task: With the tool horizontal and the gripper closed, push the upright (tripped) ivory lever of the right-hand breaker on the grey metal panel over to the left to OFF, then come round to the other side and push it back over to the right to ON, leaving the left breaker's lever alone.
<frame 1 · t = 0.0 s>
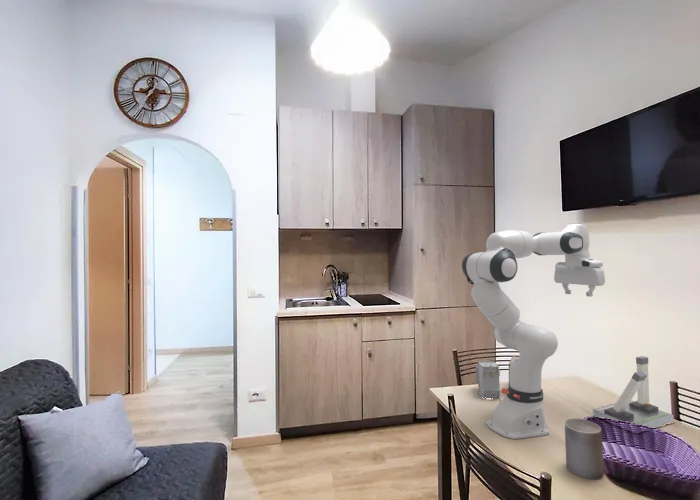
hand: (578, 295, 153), 48 cm above the table, tool pointing down, fingers open, 8 cm apart
circuit breaker: (487, 394, 172), on the table
tea box: (521, 392, 173), on the table
panel: (632, 419, 143), on the table
tripped lever: (642, 380, 146), point 14 cm above the table, hinge at 0.0°
left lever: (629, 392, 136), point 13 cm above the table, hinge at 27.0°
pillar candle: (584, 470, 111), on the table
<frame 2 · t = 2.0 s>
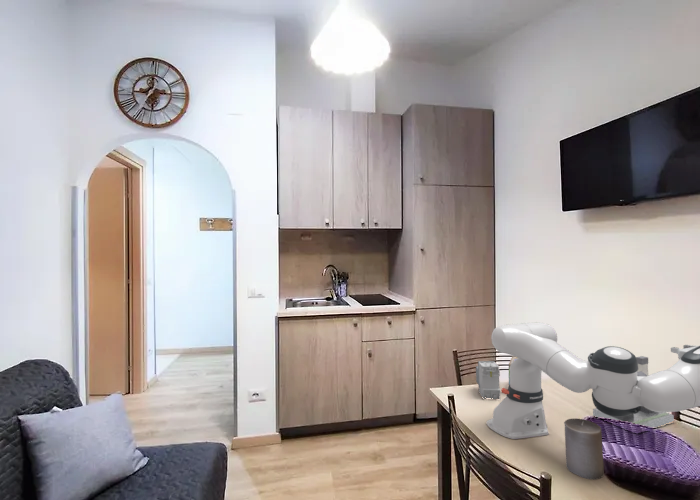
hand: (678, 348, 134), 30 cm above the table, tool horizontal, fingers open, 6 cm apart
nothing on the table moved.
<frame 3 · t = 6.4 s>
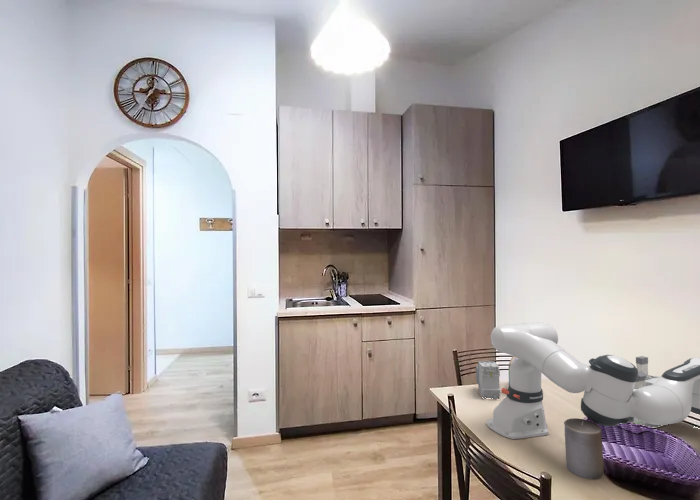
hand: (646, 377, 145), 16 cm above the table, tool horizontal, fingers closed, pressing on tripped lever
tripped lever: (642, 380, 146), point 14 cm above the table, hinge at -0.3°, touching gripper
pillar candle: (584, 470, 111), on the table, touching arm
everything else where it was.
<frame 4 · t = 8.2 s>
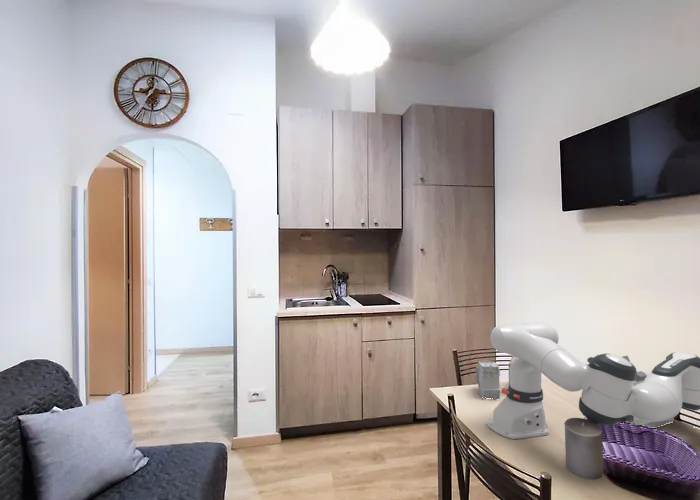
hand: (633, 373, 149), 16 cm above the table, tool horizontal, fingers closed, pressing on tripped lever
tripped lever: (632, 379, 149), point 14 cm above the table, hinge at -24.9°, touching gripper
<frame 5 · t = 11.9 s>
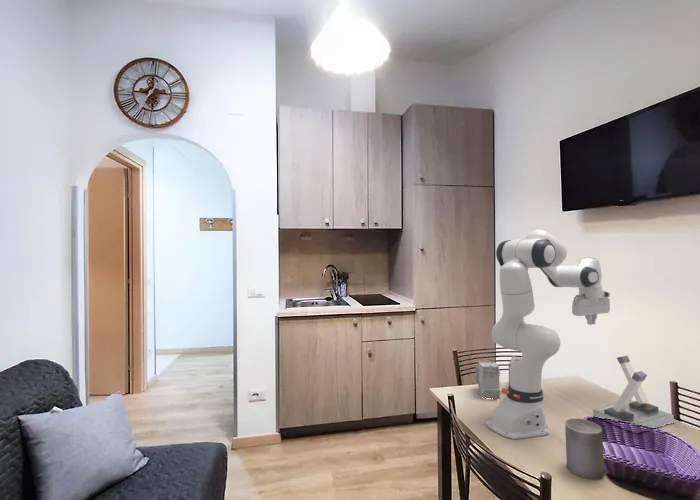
hand: (591, 324, 165), 33 cm above the table, tool pointing down, fingers closed
tripped lever: (632, 379, 149), point 14 cm above the table, hinge at -24.9°
pillar candle: (584, 470, 111), on the table
everything else where it was.
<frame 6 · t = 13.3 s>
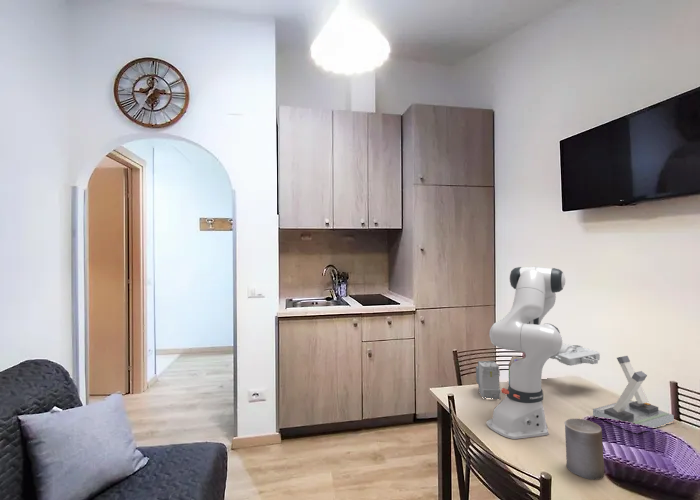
hand: (595, 362, 163), 16 cm above the table, tool horizontal, fingers closed
nothing on the table moved.
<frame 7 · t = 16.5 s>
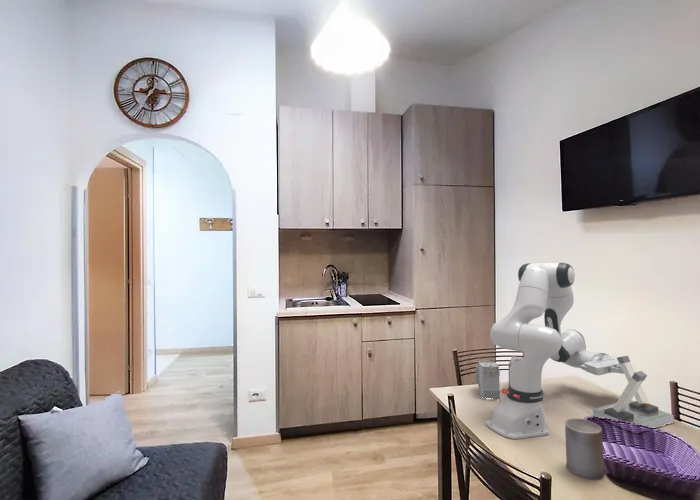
hand: (625, 371, 151), 16 cm above the table, tool horizontal, fingers closed, pressing on tripped lever
tripped lever: (632, 379, 149), point 14 cm above the table, hinge at -24.7°, touching gripper
everything else where it was.
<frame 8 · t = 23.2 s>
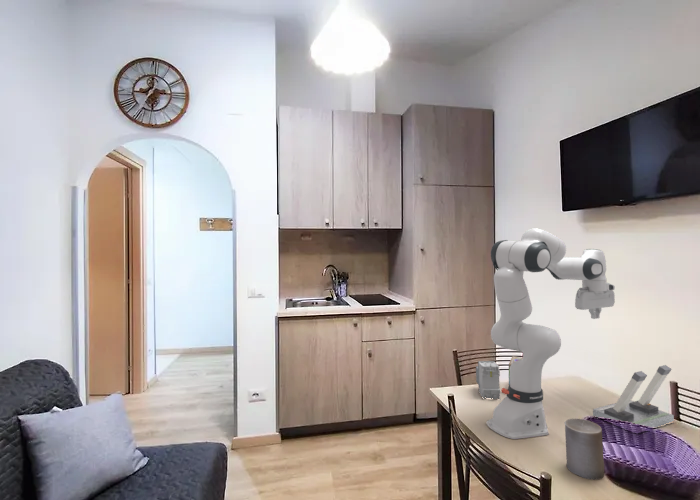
hand: (595, 318, 158), 37 cm above the table, tool pointing down, fingers closed
tripped lever: (654, 385, 142), point 14 cm above the table, hinge at 26.2°
everything else where it was.
at the end: tripped lever at +26° (first picture: +0°); left lever at +27° (first picture: +27°) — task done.
